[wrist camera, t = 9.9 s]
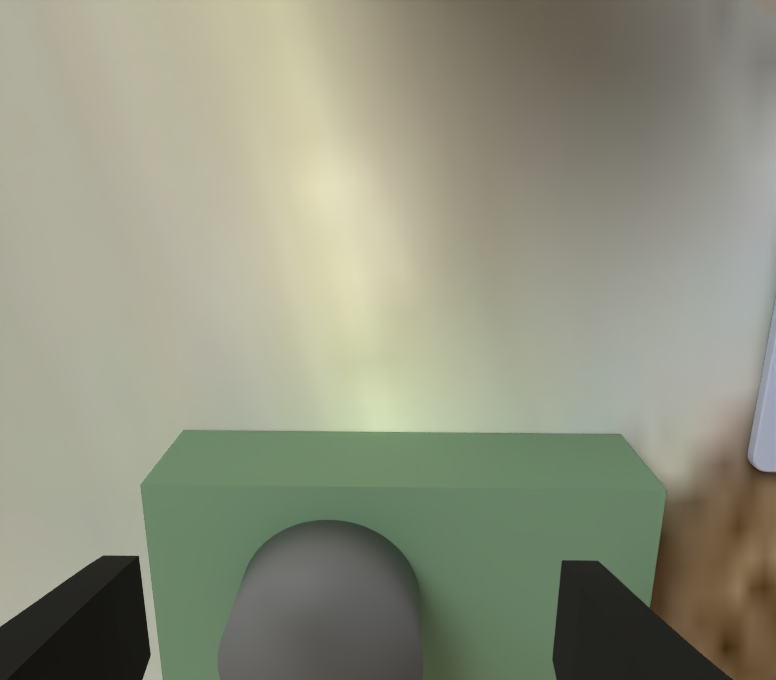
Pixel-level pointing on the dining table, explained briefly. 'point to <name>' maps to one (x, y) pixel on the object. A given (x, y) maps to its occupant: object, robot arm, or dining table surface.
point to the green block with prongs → (385, 550)
